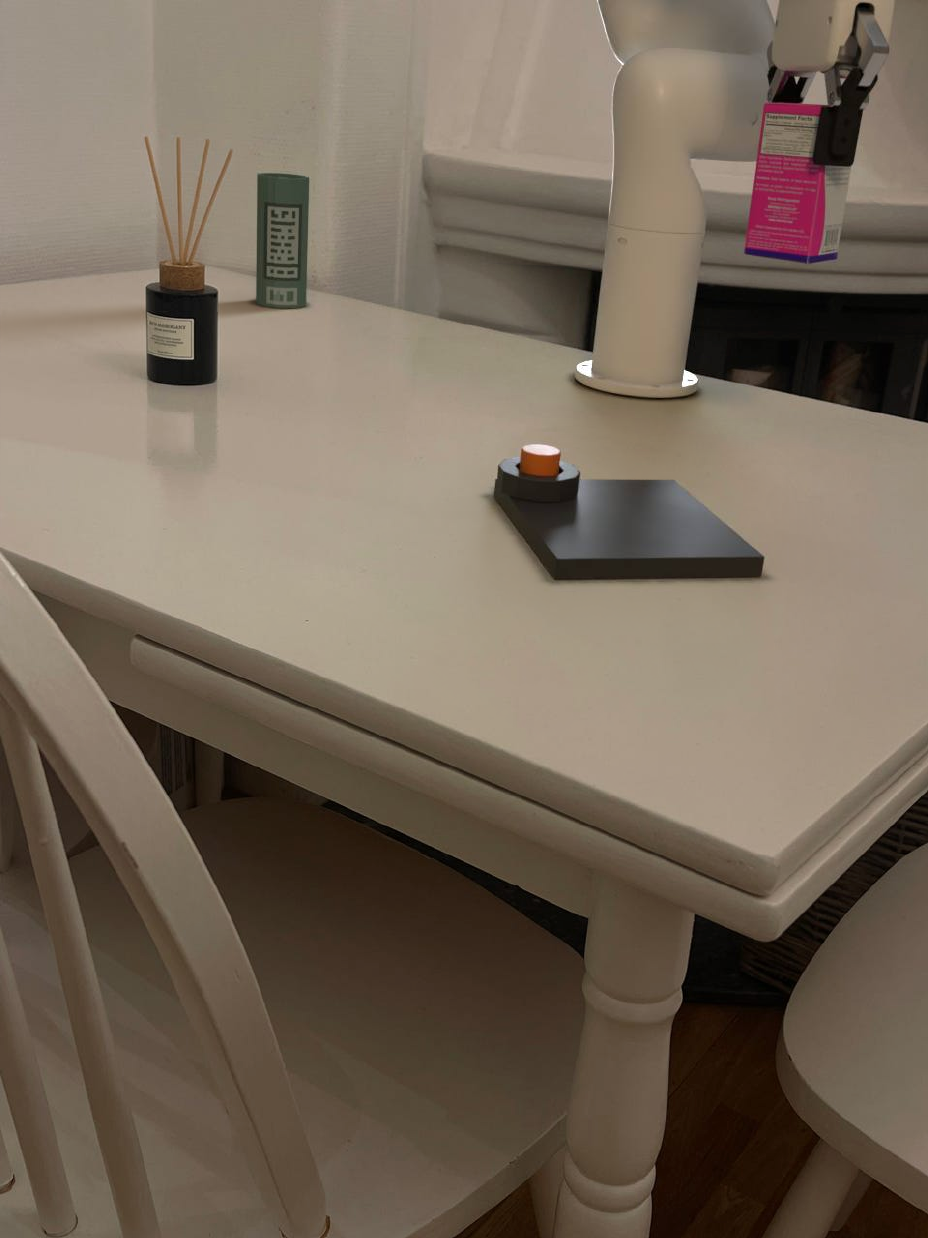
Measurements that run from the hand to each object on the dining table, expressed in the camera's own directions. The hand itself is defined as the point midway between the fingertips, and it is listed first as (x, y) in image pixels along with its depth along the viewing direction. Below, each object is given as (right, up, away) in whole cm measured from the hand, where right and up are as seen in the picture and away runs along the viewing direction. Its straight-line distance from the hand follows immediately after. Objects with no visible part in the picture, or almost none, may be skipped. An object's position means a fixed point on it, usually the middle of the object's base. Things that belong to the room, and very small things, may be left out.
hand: (805, 159), depth 98 cm
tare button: (-21, -25, -8) cm, 34 cm away
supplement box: (-1, -7, +3) cm, 8 cm away
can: (-49, +3, +58) cm, 76 cm away
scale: (-16, -30, -11) cm, 36 cm away
